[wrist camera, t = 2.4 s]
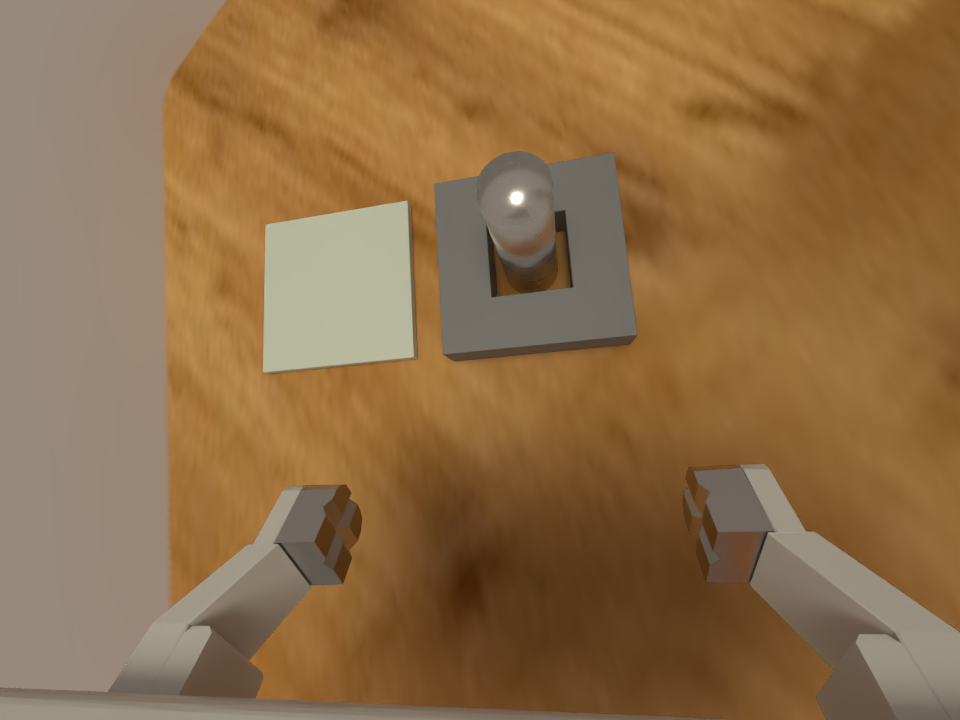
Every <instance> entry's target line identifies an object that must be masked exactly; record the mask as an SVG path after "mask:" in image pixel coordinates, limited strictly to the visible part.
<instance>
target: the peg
mask: <svg viewBox="0 0 960 720" xmlns="http://www.w3.org/2000/svg"><path fill="white" fill-rule="evenodd" d="M476 198H477V202H478V205H479V207H480V210H481V212H482V215H483V217H484V220H485V222H486V225H487V227H488V230H489V232H490V235H491V238H492V240H493V243H494V245H495V248H496V250H497V253H498V255H499V258H500V260H501V263H502V265H503V268H504V271H505V273H506V276H507V278H508V281H509V283H510V284H511V286H512V287H513V288H514V289H515V290H517V291H518V292H520V293H532V292H540V291H545V290H547V289H548V288H549V287H550V286H551V285H552V284H553V282H554V281H555V279H556V276H557V250H556V231H555V213H554V195H553V179H552V175H551V172H550V170H549V168H548V166H547V165H546V163H545V162H544V161H543V160H541V159H540V158H539V157H537V156H535V155H533V154H531V153H527V152H509V153H505V154H503V155H500V156H498V157H496V158H495V159H493V160H492V161H491V162H489V163H488V164H487V165H486V166H485V168H484V169H483V170H482V172H481V174H480V175H479V178H478V180H477V184H476Z"/></svg>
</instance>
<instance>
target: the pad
mask: <svg viewBox="0 0 960 720" xmlns="http://www.w3.org/2000/svg"><path fill="white" fill-rule="evenodd" d="M412 359H418V358H417V334H416V311H415V287H414V263H413V239H412V215H411V205H410V204H409V202H408V201H403V202H397V203H391V204H385V205H379V206H373V207H367V208H361V209H355V210H350V211H344V212H338V213H332V214H326V215H320V216H314V217H308V218H303V219H297V220H291V221H285V222H279V223H273V224H267V225H266V235H265V291H264V347H263V373H269V374H272V373H282V372H292V371H302V370H312V369H322V368H332V367H342V366H352V365H362V364H372V363H382V362H392V361H402V360H412Z"/></svg>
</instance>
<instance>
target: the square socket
mask: <svg viewBox="0 0 960 720" xmlns="http://www.w3.org/2000/svg"><path fill="white" fill-rule="evenodd" d="M546 165H547V166H548V168H549V170H550V172H551V175H552V179H553V195H554V213H555V231H556V232H558V231H565V232H566V242H567V251H568V261H569V270H570V280H571V288H564V289H556V290H548V291H540V292H532V293H523V294H515V295H507V296H499V297H497V285H496V272H495V259H494V245H493V240H492V238H491V235H490V232H489V230H488V227H487V225H486V222H485V220H484V217H483V215H482V212H481V210H480V207H479V205H478V202H477V198H476V184H477V180H478V178H479V176H477V177H471V178H465V179H460V180H454V181H448V182H442V183H437V184H434V189H435V209H436V228H437V247H438V266H439V286H440V305H441V324H442V343H443V355H445V356H447V357H448V358H450V359H452V360H453V361H463V360H473V359H483V358H493V357H504V356H514V355H524V354H534V353H545V352H555V351H565V350H575V349H586V348H596V347H606V346H616V345H627V344H631V342H632V341H633V340H634V338H635V337H636V336H637V329H636V321H635V313H634V305H633V297H632V290H631V282H630V274H629V266H628V258H627V251H626V243H625V235H624V227H623V220H622V212H621V204H620V196H619V188H618V181H617V173H616V165H615V157H614V153H608V154H602V155H596V156H591V157H585V158H579V159H574V160H568V161H562V162H557V163H551V164H546Z"/></svg>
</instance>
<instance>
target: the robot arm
mask: <svg viewBox="0 0 960 720" xmlns="http://www.w3.org/2000/svg"><path fill="white" fill-rule="evenodd" d="M685 479H686V481H687V484H688V488H687V489H686V490H684V491H683V512H684V517H685V521H686V525H687V528H688V531H689V534H691V535H692V536H693V537H694V538H695V539H696V540H698V543H697V549H696V554H697V557H698V560H699V563H700V566H701V569H702V572H703V574H704V577H705V580H706V582H721V583H750V586H751V587H752V588H753V589H754V590H755V591H756V592H757V593H758V594H759V595H760V596H761V597H762V598H763V599H764V600H765V601H766V602H767V603H768V604H769V605H770V606H771V607H772V608H773V609H774V610H775V611H776V612H777V613H778V614H779V615H780V616H781V617H782V618H783V620H784V621H785V622H786V623H787V624H788V625H789V626H790V627H791V628H792V629H793V630H794V631H795V632H796V633H797V634H798V635H799V636H800V637H801V638H802V639H803V640H804V641H805V642H806V643H807V644H808V645H809V646H810V647H811V648H812V649H813V650H814V651H815V652H816V653H817V654H818V655H819V656H820V657H821V658H822V659H823V660H824V661H825V662H826V663H827V664H828V665H829V666H830V667H831V668H832V669H833V670H834V671H833V672H832V674H831V675H830V676H829V678H828V679H827V681H826V682H825V684H824V685H823V686H822V688H821V689H820V691H819V693H818V694H817V696H816V698H817V700H818V702H819V705H820V707H821V709H822V711H823V714H824V716H825V718H826V720H960V632H958V631H957V630H955V629H954V628H953V627H951V626H950V625H948V624H947V623H945V622H944V621H943V620H941V619H940V618H938V617H937V616H935V615H934V614H932V613H931V612H930V611H928V610H927V609H925V608H924V607H922V606H921V605H920V604H918V603H917V602H915V601H914V600H912V599H911V598H909V597H908V596H907V595H905V594H904V593H902V592H901V591H899V590H898V589H897V588H895V587H894V586H892V585H891V584H889V583H888V582H886V581H885V580H884V579H882V578H881V577H879V576H878V575H876V574H875V573H874V572H872V571H871V570H869V569H868V568H866V567H865V566H863V565H862V564H861V563H859V562H858V561H856V560H855V559H853V558H852V557H851V556H849V555H848V554H846V553H845V552H843V551H842V550H840V549H839V548H838V547H836V546H835V545H833V544H832V543H830V542H829V541H827V540H826V539H825V538H823V537H822V536H820V535H819V534H817V533H816V532H806V530H805V528H804V527H803V525H802V523H801V522H800V520H799V518H798V516H797V515H796V513H795V511H794V510H793V508H792V506H791V505H790V503H789V501H788V500H787V498H786V496H785V495H784V493H783V491H782V489H781V488H780V486H779V484H778V483H777V481H776V479H775V478H774V476H773V474H772V473H771V471H770V469H769V468H768V467H767V466H766V465H765V464H747V465H720V466H703V467H689V468H688V470H687V472H686V478H685ZM350 495H351V492H350V490H349V488H348V487H347V485H302V486H288V487H287V488H286V489H284V490H283V491H282V493H281V495H280V497H279V498H278V500H277V502H276V504H275V506H274V507H273V509H272V511H271V513H270V515H269V516H268V518H267V520H266V522H265V524H264V526H263V527H262V529H261V531H260V533H259V535H258V536H257V538H256V540H255V542H254V544H250V545H247V546H245V547H244V548H243V549H242V550H241V551H239V552H238V553H237V554H236V555H235V556H233V557H232V558H231V559H230V560H229V561H227V562H226V563H225V564H224V565H222V566H221V567H220V568H219V569H218V570H216V571H215V572H214V573H213V574H212V575H210V576H209V577H208V578H207V579H206V580H204V581H203V582H202V583H201V584H199V585H198V586H197V587H196V588H195V589H193V590H192V591H191V592H190V593H189V594H187V595H186V596H185V597H184V598H182V599H181V600H180V601H179V602H178V603H176V604H175V605H174V606H173V607H172V608H170V609H169V610H168V611H167V612H166V613H164V614H163V615H162V616H161V617H160V618H158V619H157V620H156V621H155V622H153V623H152V625H151V626H150V628H149V629H148V631H147V633H146V634H145V636H144V637H143V639H142V640H141V642H140V643H139V645H138V646H137V648H136V650H135V651H134V653H133V654H132V656H131V657H130V659H129V660H128V662H127V663H126V665H125V666H124V668H123V669H122V671H121V673H120V674H119V676H118V677H117V679H116V680H115V682H114V683H113V685H112V686H111V688H110V689H109V691H108V692H96V691H73V690H46V689H22V688H0V720H740V719H717V718H694V717H671V716H648V715H625V714H602V713H580V712H557V711H534V710H511V709H488V708H465V707H442V706H419V705H396V704H373V703H350V702H327V701H304V700H280V699H257V698H256V696H257V693H258V691H259V688H260V686H261V683H262V681H263V674H262V672H261V671H260V670H259V669H258V668H257V667H256V666H255V665H253V664H252V663H251V662H250V661H249V660H250V659H251V657H252V656H253V655H254V654H255V653H256V652H257V650H258V649H259V648H260V647H261V646H262V645H263V643H264V642H265V641H266V640H267V639H268V638H269V636H270V635H271V634H272V633H273V632H274V631H275V629H276V628H277V627H278V626H279V625H280V624H281V622H282V621H283V620H284V619H285V618H286V616H287V615H288V614H289V613H290V612H291V611H292V609H293V608H294V607H295V606H296V605H297V604H298V602H299V601H300V600H301V599H302V598H303V597H304V595H305V594H306V593H307V592H308V591H309V590H310V588H311V586H310V585H336V584H343V583H344V580H345V577H346V574H347V571H348V568H349V565H350V563H351V560H352V557H351V554H350V551H349V549H350V548H351V547H352V546H353V545H354V544H355V543H356V542H357V541H358V539H359V536H360V533H361V526H362V516H361V511H360V508H359V506H358V504H356V503H355V502H353V501H352V500H350V499H349V498H350Z"/></svg>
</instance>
